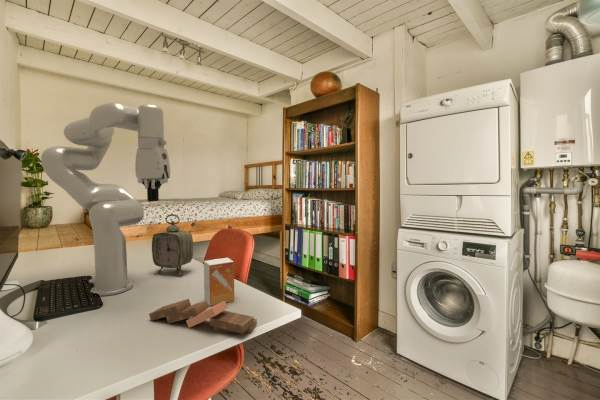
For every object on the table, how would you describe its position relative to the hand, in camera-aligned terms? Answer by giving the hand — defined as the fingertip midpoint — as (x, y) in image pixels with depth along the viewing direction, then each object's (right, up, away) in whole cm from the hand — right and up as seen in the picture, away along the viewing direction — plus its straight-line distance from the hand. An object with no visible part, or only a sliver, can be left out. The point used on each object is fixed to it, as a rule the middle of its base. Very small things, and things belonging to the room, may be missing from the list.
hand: (153, 201), depth 95 cm
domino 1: (+8, -32, -13) cm, 35 cm away
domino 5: (+26, -33, -18) cm, 46 cm away
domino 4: (+26, -31, -19) cm, 44 cm away
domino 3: (+20, -32, -17) cm, 41 cm away
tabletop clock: (-5, -31, +28) cm, 42 cm away
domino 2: (+13, -32, -15) cm, 38 cm away
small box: (+22, -32, -1) cm, 39 cm away
